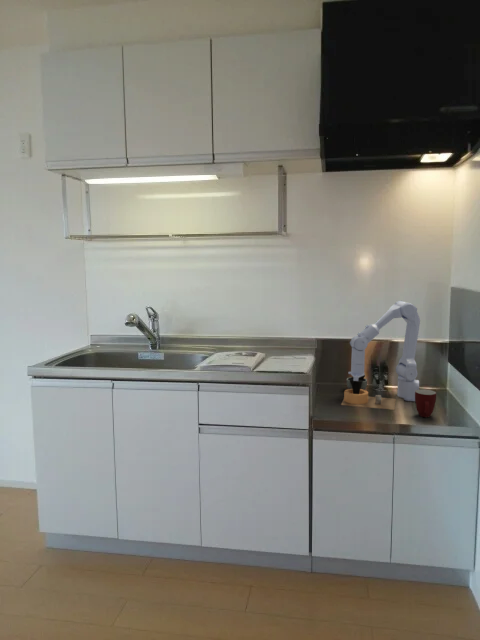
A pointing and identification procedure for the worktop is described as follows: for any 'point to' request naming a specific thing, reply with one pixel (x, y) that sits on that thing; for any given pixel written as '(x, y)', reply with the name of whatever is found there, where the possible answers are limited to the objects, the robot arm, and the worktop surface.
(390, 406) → the shelf plate
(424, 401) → the mug
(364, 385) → the mortar and pestle
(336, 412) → the worktop surface
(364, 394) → the orange notched ring
